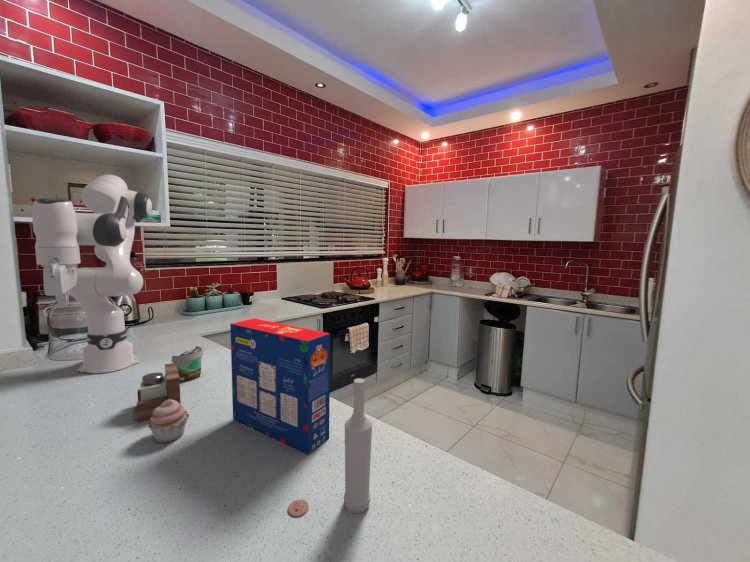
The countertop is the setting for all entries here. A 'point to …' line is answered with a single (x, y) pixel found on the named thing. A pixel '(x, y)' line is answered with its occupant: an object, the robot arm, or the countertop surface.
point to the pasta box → (281, 382)
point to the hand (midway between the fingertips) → (63, 306)
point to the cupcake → (168, 421)
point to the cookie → (298, 508)
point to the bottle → (357, 454)
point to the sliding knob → (153, 386)
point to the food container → (189, 364)
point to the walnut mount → (172, 392)
